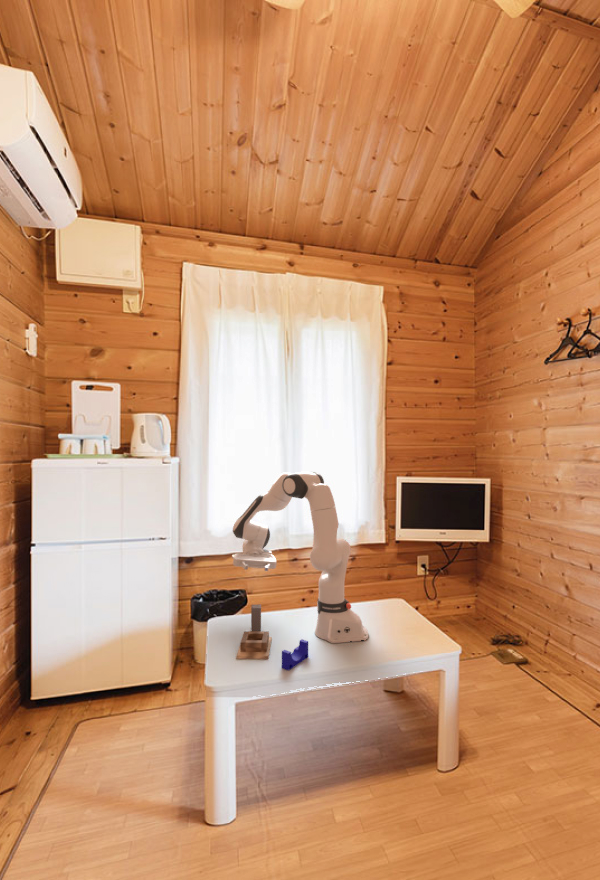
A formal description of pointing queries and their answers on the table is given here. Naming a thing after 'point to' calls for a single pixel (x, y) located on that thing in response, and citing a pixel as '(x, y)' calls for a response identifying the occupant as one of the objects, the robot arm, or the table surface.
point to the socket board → (254, 654)
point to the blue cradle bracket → (295, 655)
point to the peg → (256, 618)
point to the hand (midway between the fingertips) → (256, 568)
